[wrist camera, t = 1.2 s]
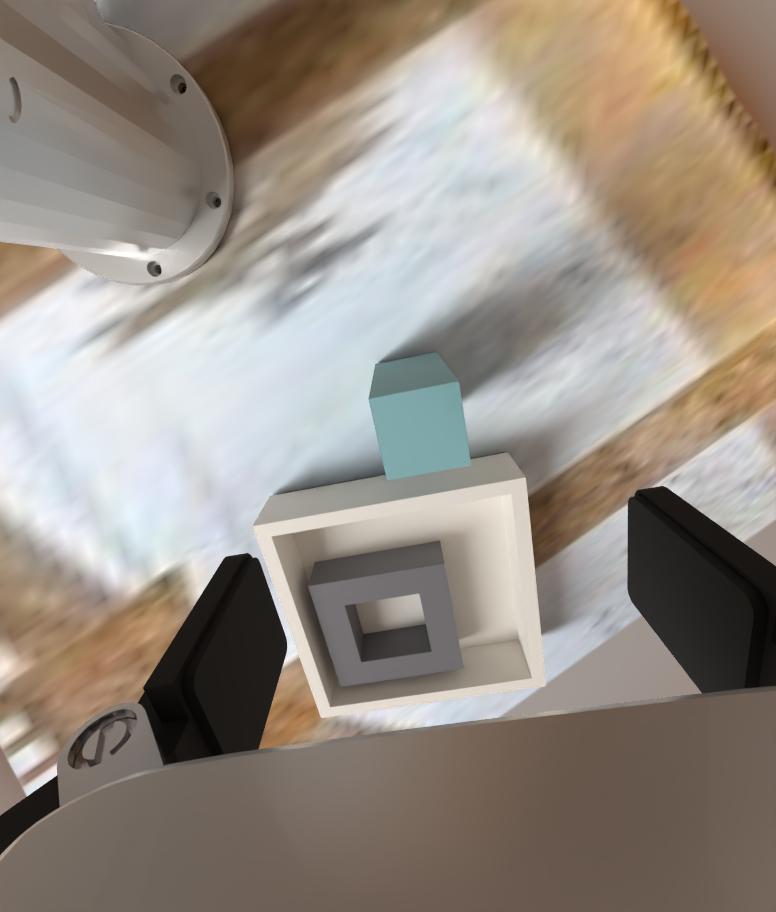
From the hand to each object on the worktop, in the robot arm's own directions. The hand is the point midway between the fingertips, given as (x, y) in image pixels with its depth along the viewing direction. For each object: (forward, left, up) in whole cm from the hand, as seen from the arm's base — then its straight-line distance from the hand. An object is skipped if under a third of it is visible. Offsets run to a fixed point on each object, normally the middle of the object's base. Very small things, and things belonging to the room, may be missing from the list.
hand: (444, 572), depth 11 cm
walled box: (+15, -3, -21) cm, 25 cm away
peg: (0, 0, -21) cm, 21 cm away
